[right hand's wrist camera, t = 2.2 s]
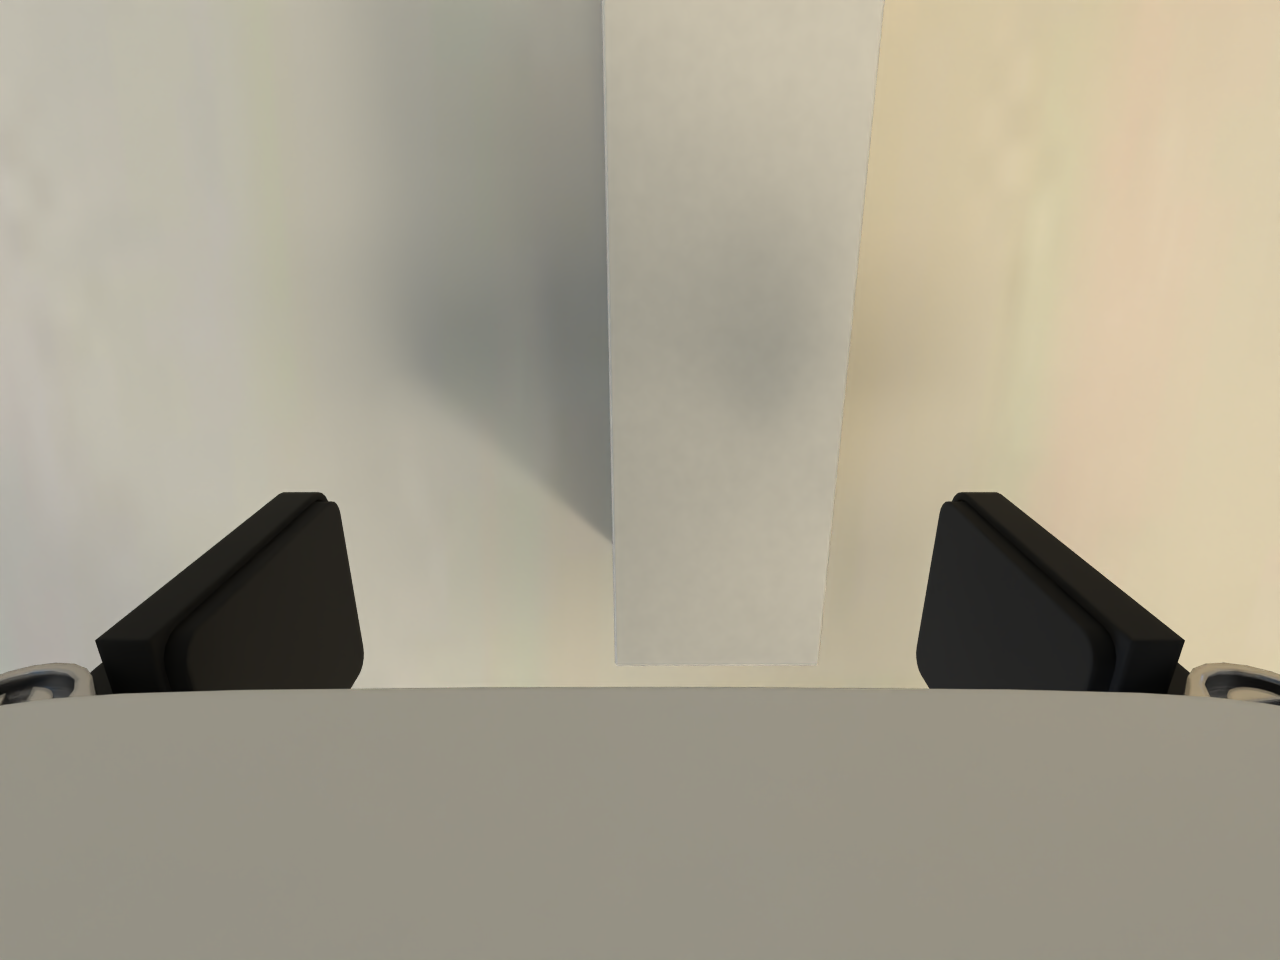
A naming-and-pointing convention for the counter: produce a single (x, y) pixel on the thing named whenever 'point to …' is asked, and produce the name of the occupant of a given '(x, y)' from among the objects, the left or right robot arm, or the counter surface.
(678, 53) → the beam
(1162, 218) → the counter surface
